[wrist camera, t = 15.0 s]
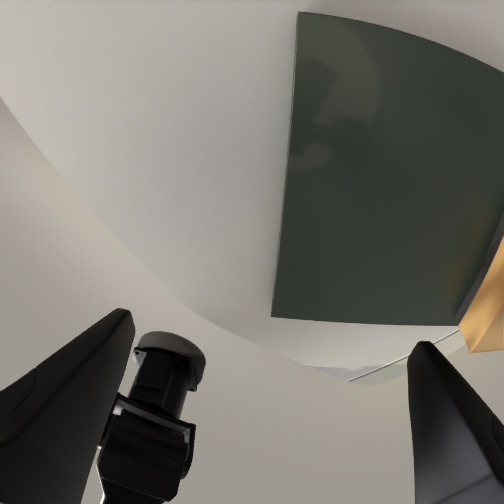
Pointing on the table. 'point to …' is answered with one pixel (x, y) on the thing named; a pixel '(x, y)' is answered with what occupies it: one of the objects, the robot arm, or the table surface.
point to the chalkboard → (386, 176)
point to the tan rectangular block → (486, 301)
